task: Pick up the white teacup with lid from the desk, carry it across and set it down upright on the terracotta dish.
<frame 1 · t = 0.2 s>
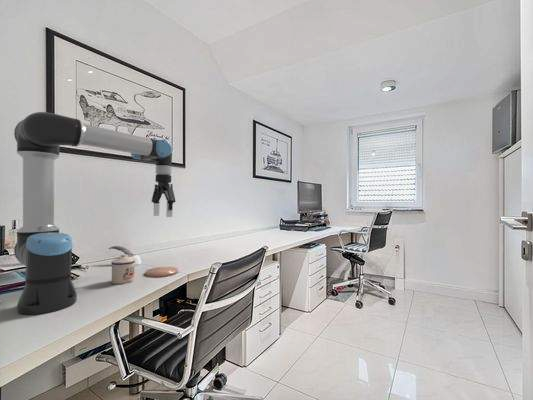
hand: (162, 216, 134), 27 cm above the table, tool pointing down, fingers open, 13 cm apart
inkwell: (124, 264, 147), on the table
teacup with lid: (125, 280, 116), on the table
dish: (161, 272, 129), on the table
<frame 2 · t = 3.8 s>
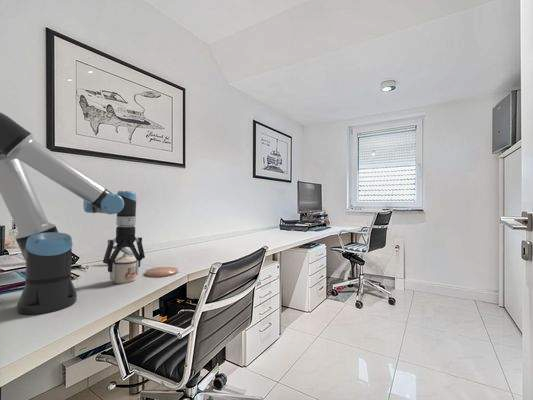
hand: (124, 277, 116), 1 cm above the table, tool pointing down, fingers closed on teacup with lid, 9 cm apart
teacup with lid: (126, 280, 117), on the table, touching gripper
everything else where it was.
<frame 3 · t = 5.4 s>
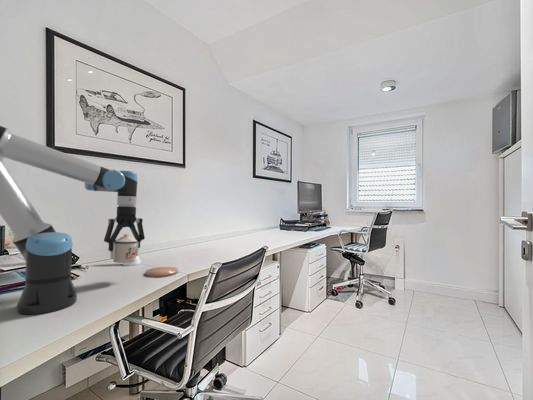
hand: (124, 257, 116), 10 cm above the table, tool pointing down, fingers closed on teacup with lid, 9 cm apart
teacup with lid: (126, 261, 117), point 8 cm above the table, touching gripper
everything else where it was.
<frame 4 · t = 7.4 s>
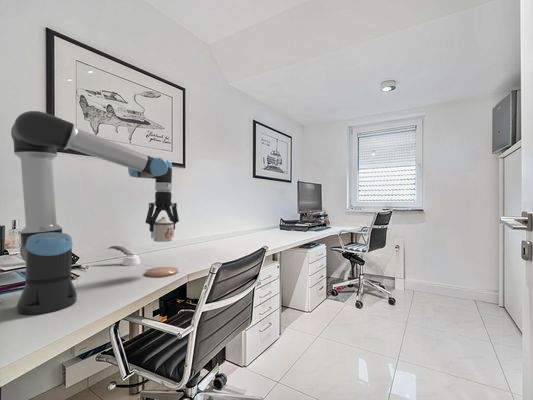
hand: (162, 237, 129), 17 cm above the table, tool pointing down, fingers closed on teacup with lid, 9 cm apart
teacup with lid: (164, 240, 130), point 16 cm above the table, touching gripper
everything else where it was.
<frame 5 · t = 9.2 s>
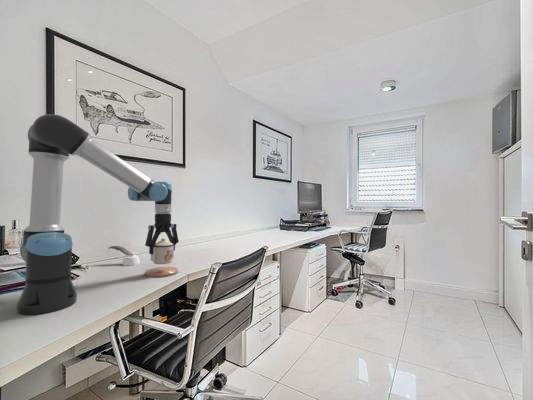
hand: (162, 259, 129), 7 cm above the table, tool pointing down, fingers closed on teacup with lid, 9 cm apart
teacup with lid: (164, 262, 130), point 5 cm above the table, touching gripper
everything else where it was.
when the fingers open (4 cm above the table, at t = 10.7 s): teacup with lid drops 1 cm, resting on dish.
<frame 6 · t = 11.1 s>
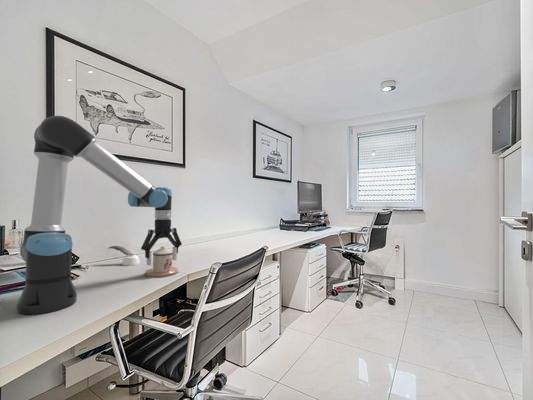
hand: (162, 262, 129), 5 cm above the table, tool pointing down, fingers open, 13 cm apart
teacup with lid: (163, 270, 130), point 1 cm above the table, touching dish
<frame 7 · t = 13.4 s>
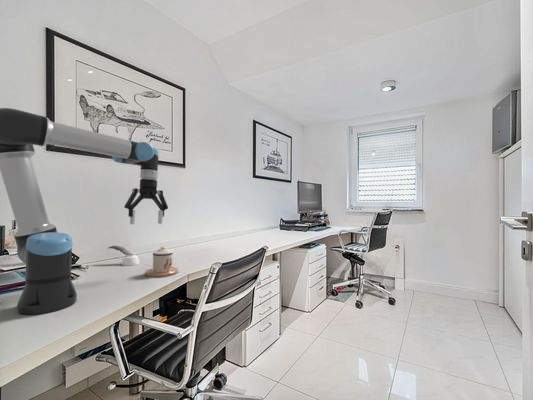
hand: (146, 223, 125), 24 cm above the table, tool pointing down, fingers open, 13 cm apart
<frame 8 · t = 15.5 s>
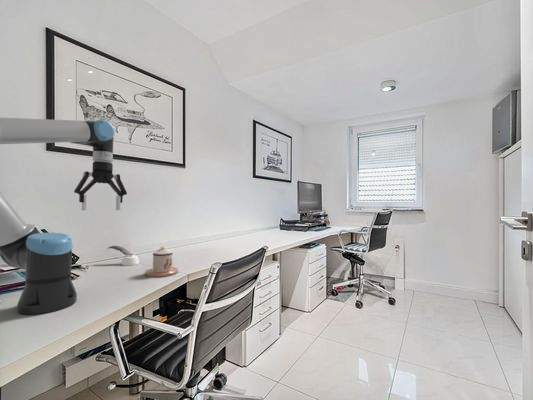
hand: (101, 210, 116), 31 cm above the table, tool pointing down, fingers open, 13 cm apart
at the end: teacup with lid 1.1 cm from the dish (horizontally); teacup with lid point 1.0 cm above the table; teacup with lid tilted 0° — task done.
